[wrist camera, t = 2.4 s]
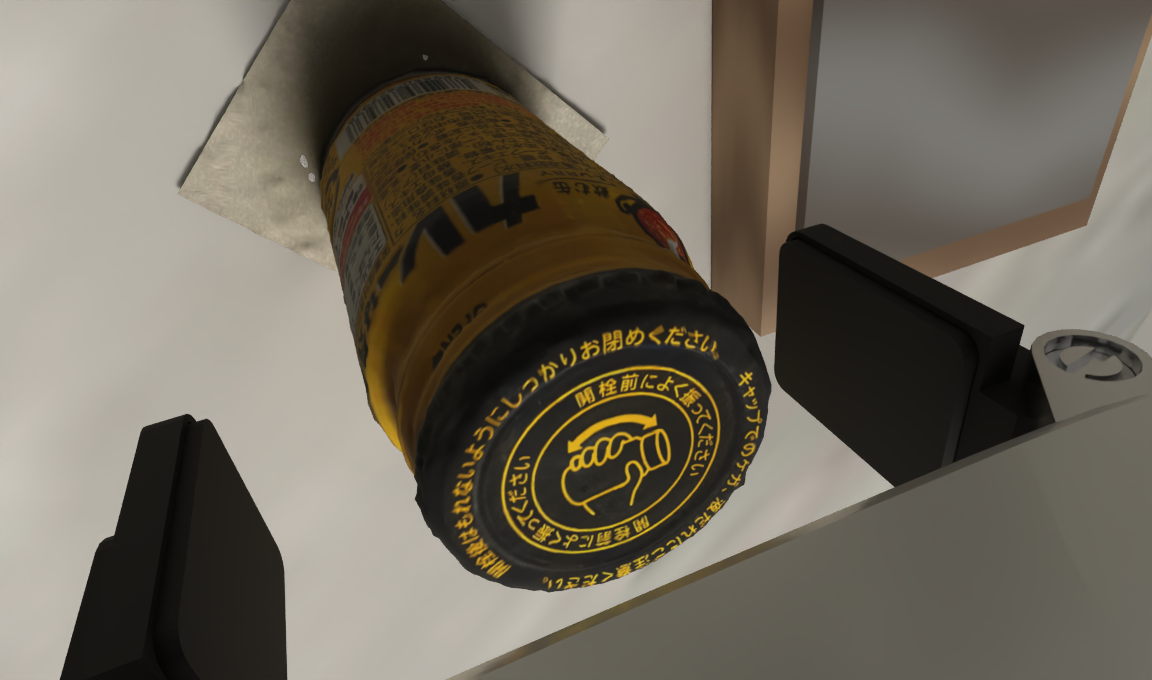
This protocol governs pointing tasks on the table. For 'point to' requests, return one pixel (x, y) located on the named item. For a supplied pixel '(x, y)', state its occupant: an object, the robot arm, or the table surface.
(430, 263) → the condiment
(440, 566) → the table surface
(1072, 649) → the robot arm
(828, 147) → the tray
